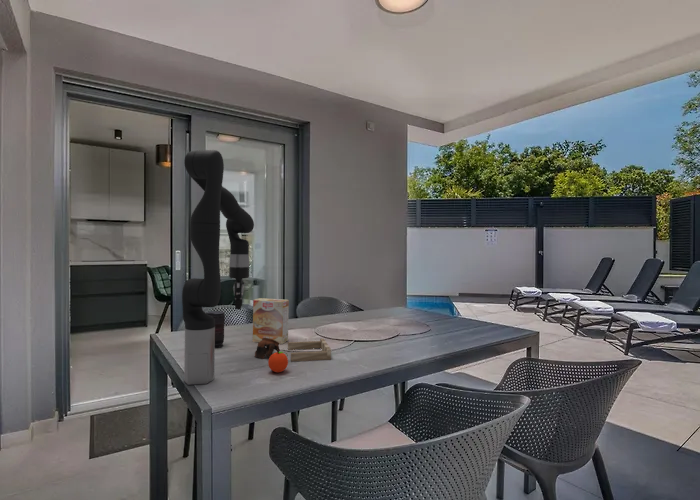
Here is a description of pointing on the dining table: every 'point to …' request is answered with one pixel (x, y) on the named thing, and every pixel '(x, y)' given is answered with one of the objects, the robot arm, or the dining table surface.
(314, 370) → the dining table surface
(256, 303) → the coffeecake box
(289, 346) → the beige wooden tray
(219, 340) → the camera lens
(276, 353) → the clementine
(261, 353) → the pottery mug
